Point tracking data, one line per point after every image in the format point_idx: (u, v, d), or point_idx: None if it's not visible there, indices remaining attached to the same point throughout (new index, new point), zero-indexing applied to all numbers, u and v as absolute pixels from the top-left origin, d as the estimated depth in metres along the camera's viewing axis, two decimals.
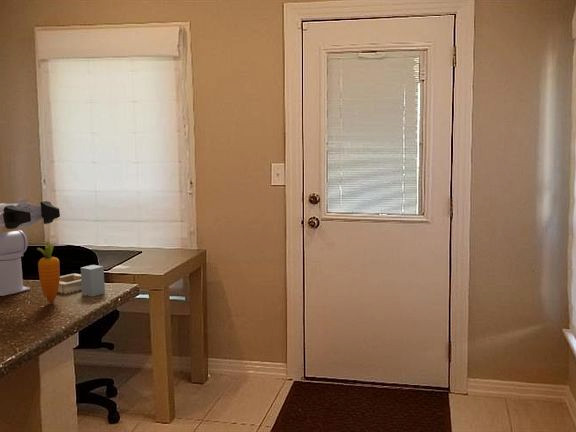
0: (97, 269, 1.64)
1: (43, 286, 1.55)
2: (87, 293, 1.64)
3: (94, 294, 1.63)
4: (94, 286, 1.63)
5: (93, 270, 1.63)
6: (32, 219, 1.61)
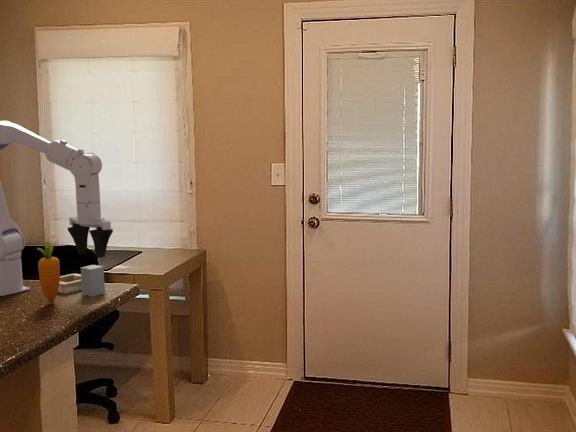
0: (97, 269, 1.64)
1: (43, 286, 1.55)
2: (87, 293, 1.64)
3: (94, 294, 1.63)
4: (94, 286, 1.63)
5: (93, 270, 1.63)
6: None
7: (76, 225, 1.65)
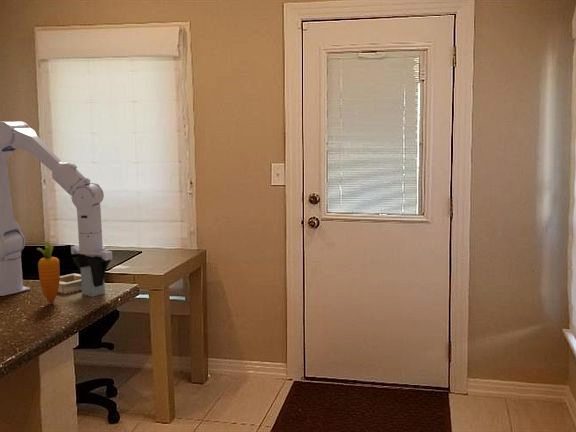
0: None
1: (43, 286, 1.55)
2: (87, 293, 1.64)
3: (94, 294, 1.63)
4: (94, 286, 1.63)
5: None
6: None
7: (78, 254, 1.66)
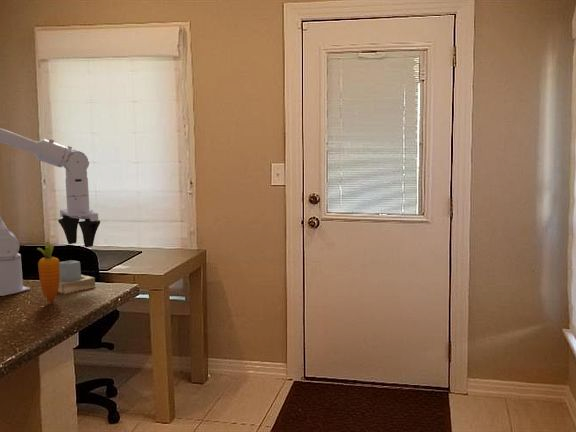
0: (74, 264, 1.70)
1: (43, 286, 1.55)
2: None
3: None
4: (71, 280, 1.69)
5: (70, 265, 1.69)
6: None
7: (66, 217, 1.77)
